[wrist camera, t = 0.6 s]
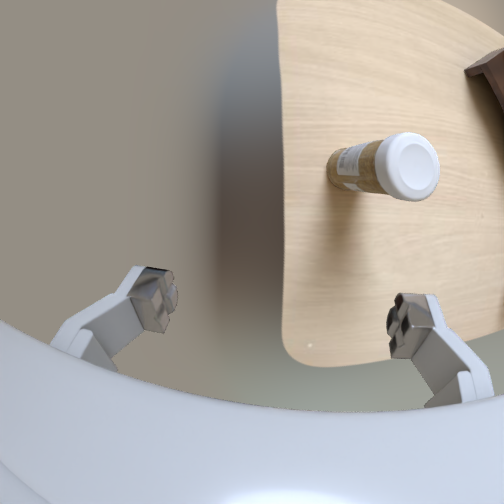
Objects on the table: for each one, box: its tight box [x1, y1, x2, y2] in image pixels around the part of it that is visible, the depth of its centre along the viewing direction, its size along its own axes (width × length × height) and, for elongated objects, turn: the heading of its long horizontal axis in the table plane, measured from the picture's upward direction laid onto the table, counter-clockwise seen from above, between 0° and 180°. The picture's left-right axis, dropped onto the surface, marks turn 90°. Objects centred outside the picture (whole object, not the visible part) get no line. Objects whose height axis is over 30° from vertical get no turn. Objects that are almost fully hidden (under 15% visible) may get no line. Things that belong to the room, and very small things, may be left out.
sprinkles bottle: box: [327, 132, 440, 202], centre depth 21 cm, size 5×5×13 cm
